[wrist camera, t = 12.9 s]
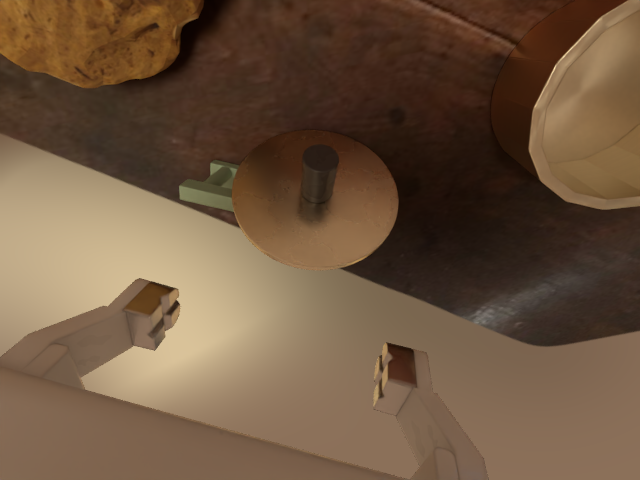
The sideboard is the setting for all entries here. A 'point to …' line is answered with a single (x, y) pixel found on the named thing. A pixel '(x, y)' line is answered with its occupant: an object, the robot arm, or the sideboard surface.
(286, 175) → the lid
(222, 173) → the plate rack
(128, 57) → the fossil
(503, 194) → the sideboard surface
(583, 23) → the tin
